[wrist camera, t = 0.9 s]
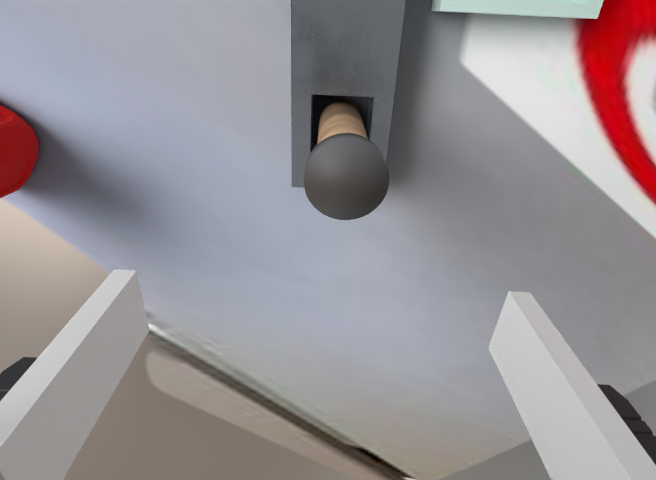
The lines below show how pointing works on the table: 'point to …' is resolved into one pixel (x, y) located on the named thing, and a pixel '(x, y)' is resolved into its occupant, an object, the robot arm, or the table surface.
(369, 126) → the block
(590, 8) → the tray
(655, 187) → the table surface
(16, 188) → the water bottle
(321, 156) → the pin
